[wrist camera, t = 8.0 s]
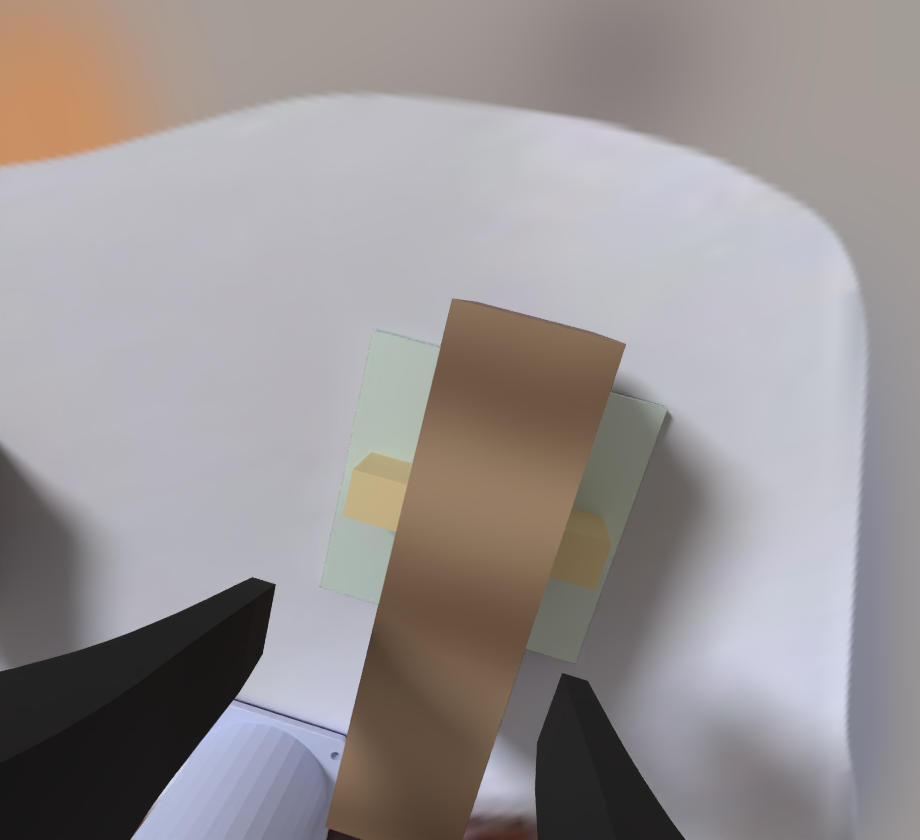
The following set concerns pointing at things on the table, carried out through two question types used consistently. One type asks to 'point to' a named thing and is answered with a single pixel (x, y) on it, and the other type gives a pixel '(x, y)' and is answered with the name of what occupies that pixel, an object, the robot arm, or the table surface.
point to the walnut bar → (468, 566)
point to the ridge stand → (388, 469)
